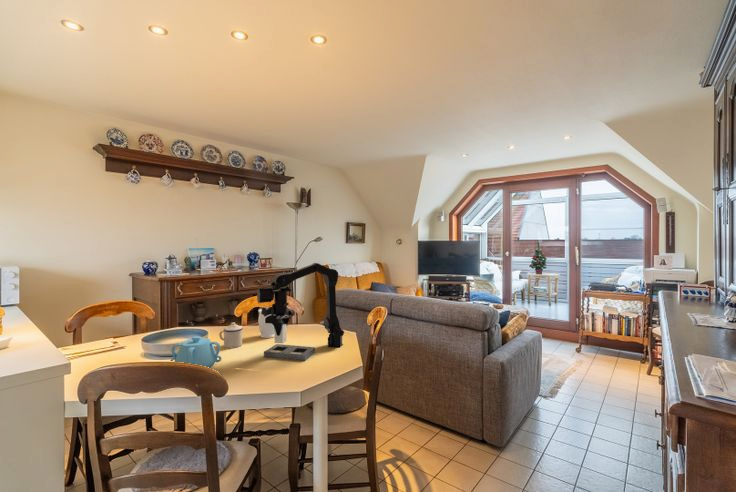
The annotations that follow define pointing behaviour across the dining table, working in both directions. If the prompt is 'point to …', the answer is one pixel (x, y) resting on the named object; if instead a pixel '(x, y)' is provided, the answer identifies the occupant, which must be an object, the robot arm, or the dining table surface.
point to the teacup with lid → (232, 336)
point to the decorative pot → (197, 352)
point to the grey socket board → (289, 352)
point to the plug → (281, 335)
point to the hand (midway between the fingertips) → (280, 334)
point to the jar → (265, 327)
